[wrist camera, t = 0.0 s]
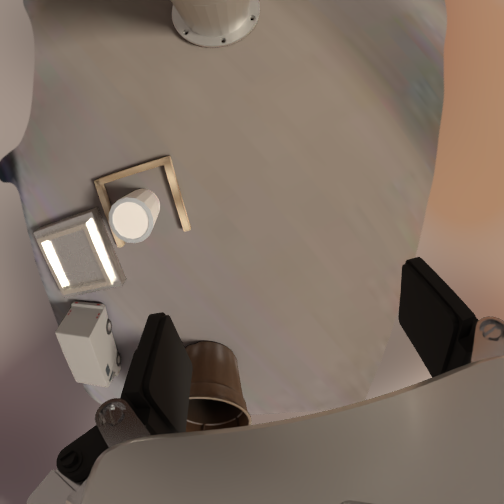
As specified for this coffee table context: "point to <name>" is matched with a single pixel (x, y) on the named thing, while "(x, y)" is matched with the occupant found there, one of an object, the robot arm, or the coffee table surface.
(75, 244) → the plate
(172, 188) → the cradle
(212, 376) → the plant pot
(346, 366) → the coffee table surface
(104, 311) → the toy vehicle
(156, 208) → the white cup
